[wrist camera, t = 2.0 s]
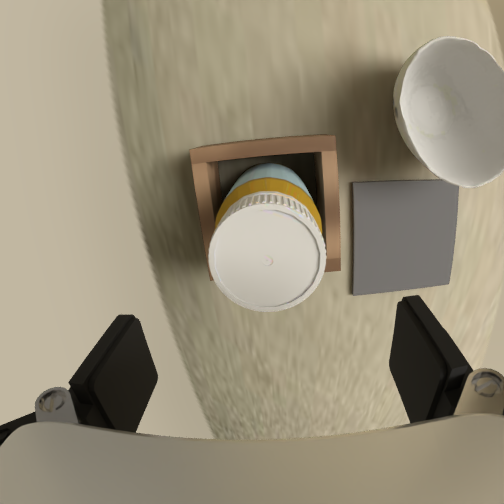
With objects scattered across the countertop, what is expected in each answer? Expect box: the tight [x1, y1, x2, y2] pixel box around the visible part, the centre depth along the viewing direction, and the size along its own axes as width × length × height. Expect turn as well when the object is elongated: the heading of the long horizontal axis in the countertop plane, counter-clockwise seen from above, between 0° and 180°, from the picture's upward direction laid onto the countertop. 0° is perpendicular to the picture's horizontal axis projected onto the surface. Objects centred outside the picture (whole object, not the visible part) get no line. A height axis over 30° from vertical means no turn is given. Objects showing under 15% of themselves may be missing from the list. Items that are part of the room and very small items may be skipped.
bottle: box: [208, 163, 326, 312], centre depth 24 cm, size 7×7×15 cm
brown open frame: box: [190, 134, 341, 281], centre depth 28 cm, size 11×11×5 cm
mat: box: [352, 180, 459, 296], centre depth 31 cm, size 12×12×1 cm
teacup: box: [393, 36, 504, 188], centre depth 22 cm, size 15×12×8 cm
